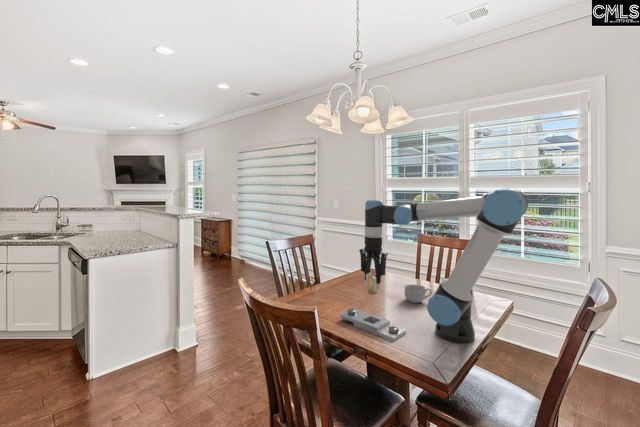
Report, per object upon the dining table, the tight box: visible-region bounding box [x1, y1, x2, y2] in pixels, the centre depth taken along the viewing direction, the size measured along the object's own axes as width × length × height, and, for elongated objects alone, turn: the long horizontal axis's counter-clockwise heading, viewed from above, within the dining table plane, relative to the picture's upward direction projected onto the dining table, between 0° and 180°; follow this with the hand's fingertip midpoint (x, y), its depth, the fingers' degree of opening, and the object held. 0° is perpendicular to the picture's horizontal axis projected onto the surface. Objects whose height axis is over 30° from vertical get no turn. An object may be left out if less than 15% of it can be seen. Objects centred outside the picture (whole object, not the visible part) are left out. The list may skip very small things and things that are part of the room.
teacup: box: [404, 284, 433, 304], centre depth 172 cm, size 14×11×8 cm
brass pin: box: [367, 275, 378, 296], centre depth 141 cm, size 4×4×7 cm
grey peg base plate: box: [339, 307, 407, 342], centre depth 142 cm, size 28×10×4 cm, turn 46°
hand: (372, 289), depth 141 cm, fingers closed on brass pin, 4 cm apart
